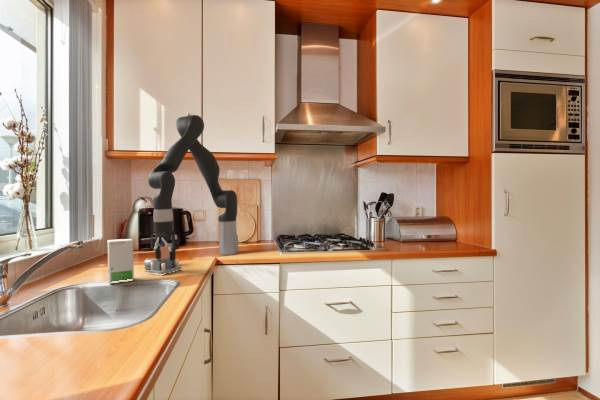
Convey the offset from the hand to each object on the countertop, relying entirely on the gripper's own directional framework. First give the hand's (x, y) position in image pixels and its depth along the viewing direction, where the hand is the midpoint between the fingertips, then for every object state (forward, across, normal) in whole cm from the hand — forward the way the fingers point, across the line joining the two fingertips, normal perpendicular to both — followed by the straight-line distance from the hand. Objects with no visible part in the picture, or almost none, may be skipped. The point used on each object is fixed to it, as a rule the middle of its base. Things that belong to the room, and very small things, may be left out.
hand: (165, 259), depth 141 cm
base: (+5, +10, -1) cm, 11 cm away
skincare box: (+5, +4, +17) cm, 18 cm away
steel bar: (+4, 0, 0) cm, 4 cm away
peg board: (+5, 0, 0) cm, 5 cm away
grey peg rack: (+3, +10, -5) cm, 11 cm away
